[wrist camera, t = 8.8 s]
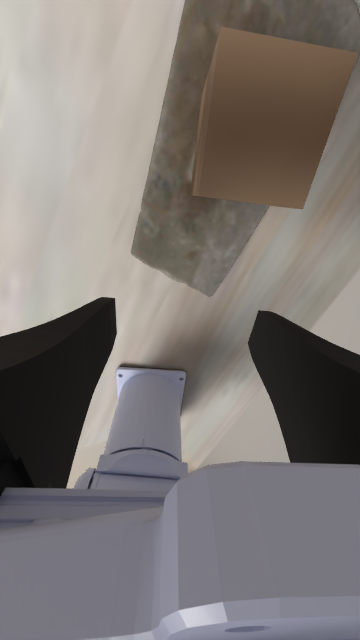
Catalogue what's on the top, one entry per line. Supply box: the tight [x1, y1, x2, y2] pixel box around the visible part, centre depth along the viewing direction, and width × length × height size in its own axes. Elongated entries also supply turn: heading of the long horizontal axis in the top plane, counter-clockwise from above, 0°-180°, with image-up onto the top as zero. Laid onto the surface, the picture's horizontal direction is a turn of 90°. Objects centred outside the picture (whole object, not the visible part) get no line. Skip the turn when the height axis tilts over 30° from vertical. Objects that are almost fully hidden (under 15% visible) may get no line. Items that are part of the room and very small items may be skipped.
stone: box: [131, 0, 360, 297], centre depth 15 cm, size 18×3×10 cm
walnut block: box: [190, 27, 358, 209], centre depth 11 cm, size 5×5×6 cm
